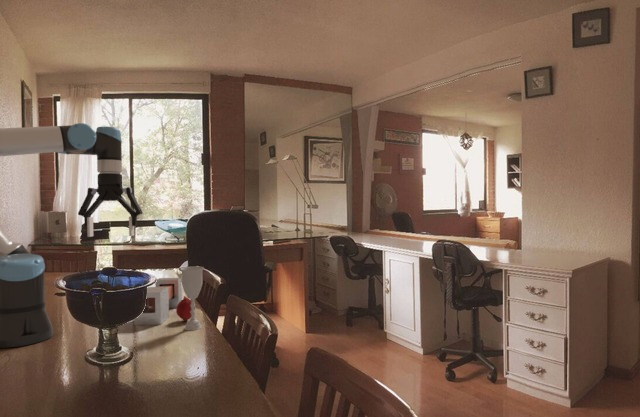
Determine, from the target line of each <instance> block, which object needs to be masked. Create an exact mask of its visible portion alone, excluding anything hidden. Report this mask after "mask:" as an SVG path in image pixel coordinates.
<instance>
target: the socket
mask: <svg viewBox="0 0 640 417" xmlns="http://www.w3.org/2000/svg"><path fill="white" fill-rule="evenodd" d="M156 280H157V282H156V283H155V287H160V286H162V285H163V284H174V296H173V297H172V298H171V299H169V309H172V308H173V309H174V308H175V309H176V308H177V305H178V304H179V302H180V301H181V300H183V298H182V295H183V294H182V289H183V288H182V277H162V278H161V277H159V278H157V279H156Z"/></svg>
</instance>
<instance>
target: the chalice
mask: <svg viewBox="0 0 640 417" xmlns="http://www.w3.org/2000/svg"><path fill="white" fill-rule="evenodd" d="M204 268H205V267H204V266H201V265H200V266H197V265H196V266H195V265H193V266H185V267H181V268H179V270H180V272H181V287H182V289H183V291H184V293H185V296H186V297H187V298H188V299H190V300H191V305H190V306H191V311H190V313H191V315H192V316H191V318H190V319H189V320H187V321H186V324H185V326H184V330H185V331H198V330H200V329H202V328H203V326H202V325H201V323H200V320H199V319H197V317H196V316H195V315H196V304H195V299H197V298H198V297H199V294H200V292H201V290H202V287H203V271H204ZM194 308H195V309H194Z"/></svg>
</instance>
